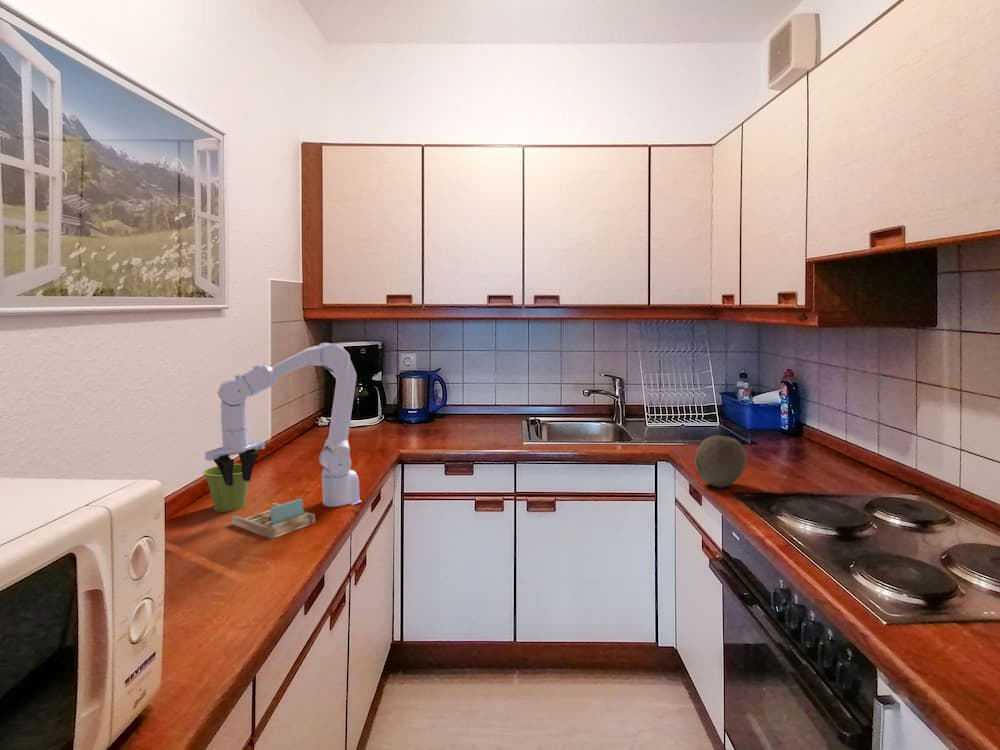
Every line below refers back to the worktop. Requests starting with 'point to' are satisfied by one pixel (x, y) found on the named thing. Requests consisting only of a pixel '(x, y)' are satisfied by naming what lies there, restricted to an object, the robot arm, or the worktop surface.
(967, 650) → the worktop surface
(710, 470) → the cantaloupe
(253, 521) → the rack
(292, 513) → the teal rectangular plate
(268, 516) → the offcut upper
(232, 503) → the plant pot
